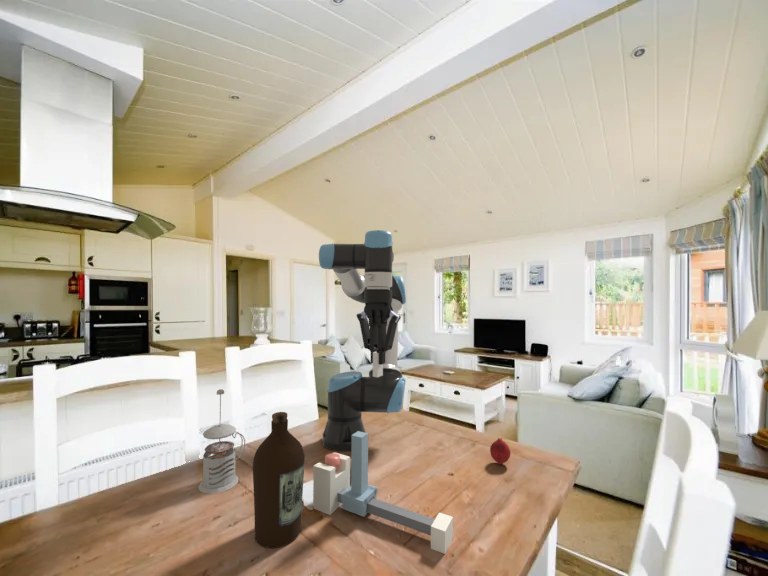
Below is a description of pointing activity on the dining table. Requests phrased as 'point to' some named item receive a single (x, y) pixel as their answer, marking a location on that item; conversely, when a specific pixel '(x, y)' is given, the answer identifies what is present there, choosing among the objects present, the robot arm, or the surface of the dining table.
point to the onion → (500, 451)
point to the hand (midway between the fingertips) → (377, 375)
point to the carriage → (358, 477)
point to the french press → (219, 476)
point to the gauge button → (333, 460)
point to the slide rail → (376, 505)
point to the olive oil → (278, 485)
